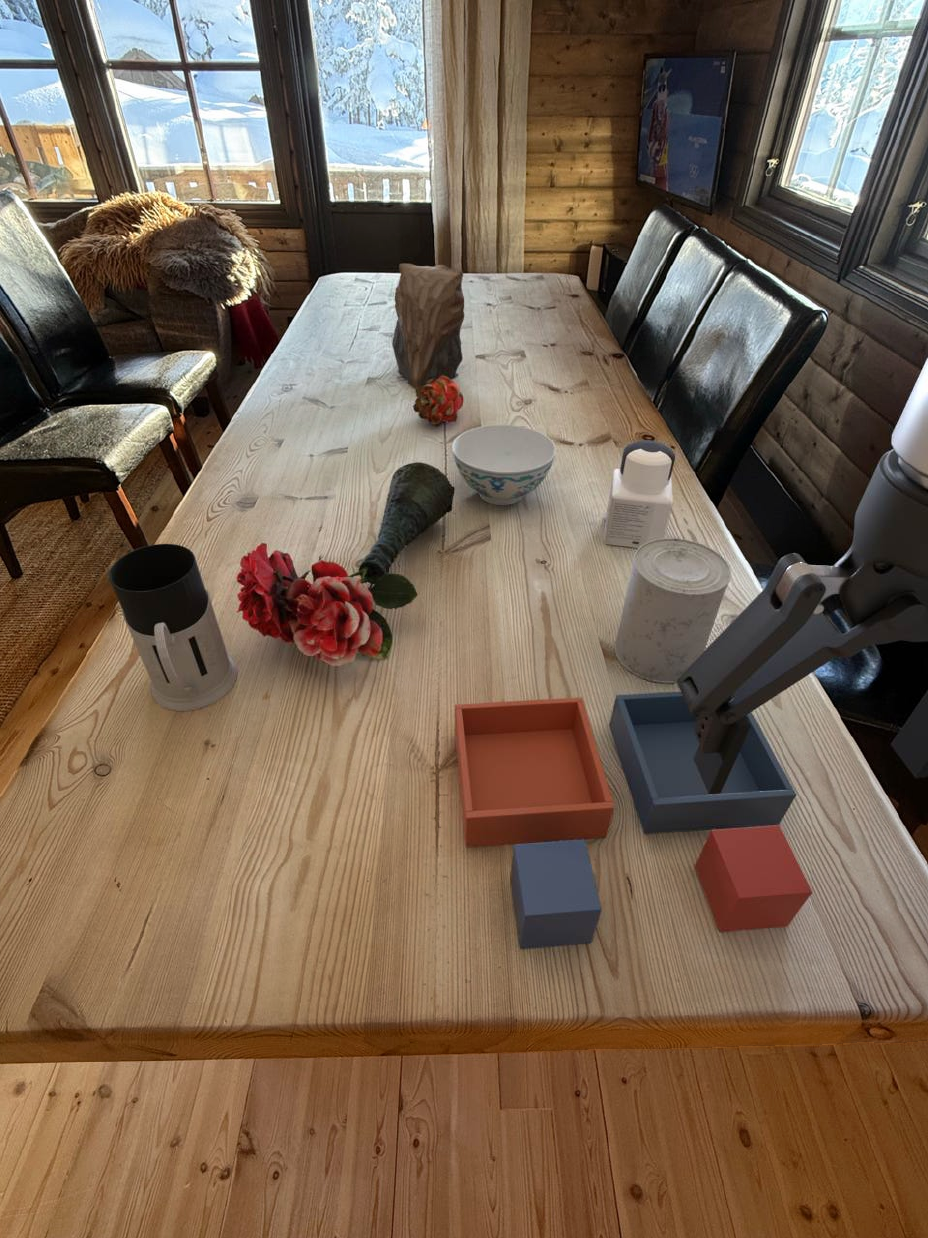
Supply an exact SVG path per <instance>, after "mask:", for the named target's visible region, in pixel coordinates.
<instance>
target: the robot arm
mask: <svg viewBox="0 0 928 1238" xmlns="http://www.w3.org/2000/svg"><path fill="white" fill-rule="evenodd" d="M907 399H908V400H907V401H906V403H905V406H904V408H903V409H902V413H901V415H900V416H899V419H898V421H897V424H896V425H895V428H894V429H893V431H892V434H891V447H892V449H891V450H888V451H886V452H885V453H884V454H882V456H881V457H880V459H879V461H878V464H877V465H876V468H875V470H874V472H873V474H872V476H871V478H870V480H869V483H868V485H867V487H866V489H865V491H864V494H863V496H862V498H861V500H860V502H859V504H858V506H857V509H856V511H855V513H854V521H853V522H854V524H853V526H854V527H853V537H852V543H851V546H850V548H849V549H848V550H847V552H846V553H844V555H842V557H841V558H839V559H838V561H836V562H835V563H834V564H833V565H816V564H809V563H807V562H806V561H805V560H804V558H803V557H802V556H801V555H800V554H799V553H796V552H793V553H792V552H791V553H788V554H786V555H784V556H783V557H781V558H780V559H779V561H778V562H777V564H776V565H775V567H774V569H773V571H772V573H771V576H770V577H769V578H768V580H767V582H766V585H765V587H764V588H763V589H762V591H760V593H758V595H757V596H756V597H755V598H754V599H753V600H752V601H751V602H750V603H749V604H748V605H747V606H746V607H744V609H743V610H742V611H741V612H740V613H739V614H738V615H737V616H736V617H735V619H734V620H732V622H730V623H729V625H727V627H726V628H724V630H723V631H722V632H721V633H720V634H719V635H718V636H717V637H716V638H715V639H713V641H712V642H711V643H710V644H709V646H707V647H706V648H705V651H704V652H703V653H702V654H701V655H700V656H699V657H698V658H697V659H696V660H695V661H694V662H693V663H692V664H691V665H690V666H689V667H688V668H687V669H686V670H685V671H684V672H683V673H682V674H681V675H680V677H679V678H678V679H677V683H676V684H677V687H678V689H679V692H680V691H681V694H682V696H683V698H684V700H685V702H686V704H687V706H688V709H689V711H690V713H691V715H692V717H693V718H695V719H698V720H697V724H696V726H695V729H694V732H695V736H696V738H697V740H698V742H699V746H698V749H697V751H696V754H695V756H694V762H695V764H696V766H697V768H698V771H699V773H700V775H701V778H702V780H703V782H704V784H705V787H706V789H707V791H708V794H721V792H722V789H723V787H724V785H725V783H726V780H727V778H728V776H729V774H730V772H731V769H732V767H733V765H734V763H735V760H736V758H737V756H738V754H739V752H740V749H741V747H742V745H743V743H744V741H745V738H746V736H747V734H748V732H749V729H750V727H751V724H750V722H749V721H748V719H747V717H746V715H747V714H749V713H750V712H752V713H753V711H755V710H757V709H758V708H760V707H761V706H763V705H764V704H766V703H767V702H769V701H770V700H772V699H774V698H775V697H777V696H778V695H780V694H781V693H782V692H785V691H786V690H788V689H789V688H790V687H792V686H793V685H795V684H797V683H798V682H800V681H801V680H803V679H805V678H806V677H808V676H809V675H810V674H811V675H812V673H814V672H815V671H817V670H818V669H820V668H821V667H823V666H824V665H826V664H827V663H829V662H831V661H832V660H834V659H836V658H842V659H850V658H853V657H854V656H856V655H857V654H859V653H861V652H862V651H863V650H865V649H867V648H868V647H869V646H874V645H886V644H890V643H895V642H899V641H904V642H911V643H923V642H925V643H926V642H928V357H927V358H926V360H925V363H924V365H923V366H922V369H921V371H920V374H919V376H918V378H917V380H916V381H915V384H914V386H913V388H912V391H911V392H910V395H909V397H908V398H907ZM838 610H840V613H841V616H842V617H843V620H844V621H845V622H846V623H847V624H848V626H849V627H850V628H851V629H849V630H848V631H846V632H844V633H843V632H842V631H841V630H840V629H839V628H838V626H837V625H836V623H835V622H834V621H833V620H832V617H831V616H832V614H833V613H834V612H836V611H838ZM890 746H891V747H892V749H893V750H894V751H895V753H896V754H897V756H898V757H899V758H900V759H901V761H902V762H903V763H904V765H905V766H906V768H907V769H908V770H909V772H910V773H911V774H912V776H913V777H914V778H915V779H923V778H925V779H926V778H927V777H928V690H927V691H926V692H925V693H924V695H923V696H922V698H921V700H920V701H919V702H918V704H917V705H916V707H915V708H914V709H913V711H912V713H911V714H910V716H909V717H908V718H907V720H906V721H905V723H904V724H903V726H902V727H901V729H900V730H899V731H898V733H897V735H896V736H895V737H894V739H893V740H892V742H891V743H890Z"/></svg>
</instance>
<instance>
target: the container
mask: <svg viewBox="0 0 928 1238" xmlns="http://www.w3.org/2000/svg"><path fill="white" fill-rule="evenodd" d="M675 461H676V453H675V451H674V450H673V449H672V448H671V447H670V446H669V445H667V444H664V443H662V442H659V441H656V440H650V439H643V440H635V441H631V442H629V443H628V444H627V445H626V446H625V447H623V452H622V457H621V462H620V468H615V469H614V470H613V474H612V479H611V485H610V490H609V495H608V496H609V497H608V502H607V508H606V512H605V525H604V537H603V542H604V544H605V545H611V546H617V547H625V548H633V549H635V548H636V549H638V548H639V547H640V546H641V545H643V544H645V543H647V542H649V541H652V540H655V539H662V538H666V533H667V529H668V525H669V521H670V516H671V513H672V509H673V505H674V501H673V499H674V498H673V482H672V474H673V468H674V465H675Z"/></svg>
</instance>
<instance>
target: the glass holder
mask: <svg viewBox="0 0 928 1238" xmlns="http://www.w3.org/2000/svg"><path fill="white" fill-rule="evenodd" d="M200 571H201V570H200V568H199V565H198V562H197V559H196V556H195V554H194V552H193V551H192V550H191V549H189V548H188V547H186V546H183V545H180V544H175V543H157V544H150V545H146V546H142V547H139V548H137V549H134V550H131V551H129V552H128V553H126V554H124V555H123V556H121V557H120V558H119V559H117V560H116V561H115V562H114V564H113V565H111V567H110V569H109V573H108V578H109V583H110V585H111V586H112V589H113V591H114V594H115V596H116V598H117V600H118V603H119V605H120V607H121V610H122V616H123V619H124V622H125V625H126V626H127V628H128V631H129V634H130V636H131V638H132V640H133V642H134V645H135V647H136V649H137V652H138V654H139V656H140V658H141V662H142V663H143V665H144V667H145V670H146V672H147V674H148V677H149V679H150V682H151V685H150V686H151V687H150V690H151V695H152V698H153V700H154V701H155V702H156V704H157V705H159V706H160V707H162V708H164V709H166V710H168V711H176V712H191V711H195V710H199V709H203V708H207V707H209V706H211V705H213V704H215V703H216V702H218V701H220V700H221V699H223V698H224V697H225V696H226V695H227V694H228V693H229V692H230V691H231V690H232V688H233V687H234V685H235V684H236V681H237V679H238V668H237V665H236V663H235V662H234V660H233V659H232V658H231V657H230V656H229V654H228V650H227V647H226V644H225V641H224V639H223V634H222V632H221V629H220V626H219V622H218V618H217V616H216V612H215V609H214V607H213V604H212V600H211V597H210V593H209V591H208V589H207V588H206V587H205V584H204V580H203V577H202V575H201V572H200Z"/></svg>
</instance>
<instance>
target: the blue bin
mask: <svg viewBox="0 0 928 1238" xmlns="http://www.w3.org/2000/svg"><path fill="white" fill-rule="evenodd" d="M613 702H614V703H613V707H612V710H611V715H610V720H609V724H608V727H609V731H610V733H611V736H612V740H613V742H614V745H615V749H616V752H617V755H618V759H619V761H620V765H621V767H622V770H623V774H624V777H625V780H626V782H627V783H626V784H627V786H628V789H629V792H630V795H631V798H632V801H633V804H634V807H635V810H636V813H637V817H638V820H639V823H640V826H641V829H642V831H643V835H651V834H652V835H653V834H654V835H655V834H666V833H679V832H692V831H707V830H719V829H733V828H746V827H760V826H773V825H781V822H782V821H783V819H784V817H785V815H786V814H787V812H788V811H789V809H790V807H791V805H792V804H793V802H794V800H795V799H796V797H797V793H796V791H795V789H794V787H793V786H792V783H791V781H790V780H789V778H788V777H787V774H786V772H785V770H784V769H783V767H782V765H781V763H780V761H779V760H778V758H777V756H776V754H775V753H774V751H773V749H772V747H771V745H770V743H769V742H768V740H767V738H766V735H765V734H764V732H763V731H762V729H761V727H760V725H759V723H758V722H757V719H756V718H755V716H754V714H753V711H752V712H750V713H749V714H747V715H746V717H747V719H748V721H749V722H750V724H751V727H750V729H749V732H748V734H747V736H746V738H745V741H744V743H743V745H742V747H741V749H740V752H739V754H738V756H737V758H736V760H735V763H734V765H733V767H732V769H731V772H730V774H729V776H728V778H727V780H726V783H725V785H724V787H723V789H722V792H721V794H708V791H707V789H706V787H705V784H704V782H703V780H702V778H701V775H700V773H699V771H698V768H697V766H696V764H695V762H694V756H695V754H696V751H697V749H698V746H699V742H698V740H697V738H696V736H695V732H694V729H695V726H696V724H697V720H698V719H695V718H693V717H692V715H691V713H690V711H689V709H688V706H687V704H686V702H685V700H684V698H683V696H682V694H681V691H680V690H679V691H667V692H666V691H663V692H648V693H631V694H616V695H615V698H614V701H613Z"/></svg>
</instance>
